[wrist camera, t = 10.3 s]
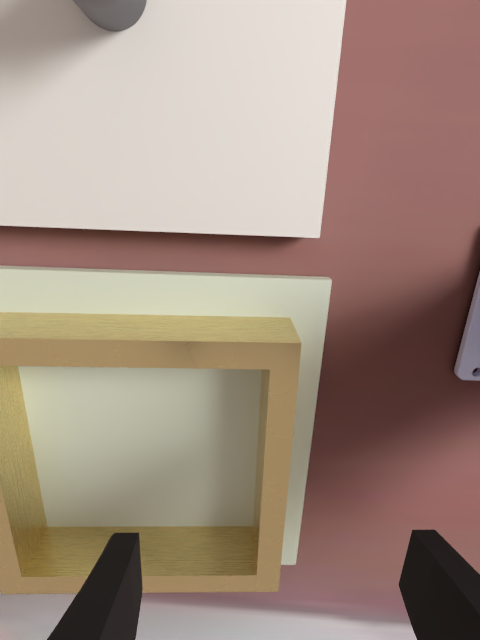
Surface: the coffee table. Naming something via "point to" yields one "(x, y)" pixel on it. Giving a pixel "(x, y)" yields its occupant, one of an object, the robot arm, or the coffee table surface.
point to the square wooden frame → (155, 541)
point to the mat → (162, 403)
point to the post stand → (168, 114)
